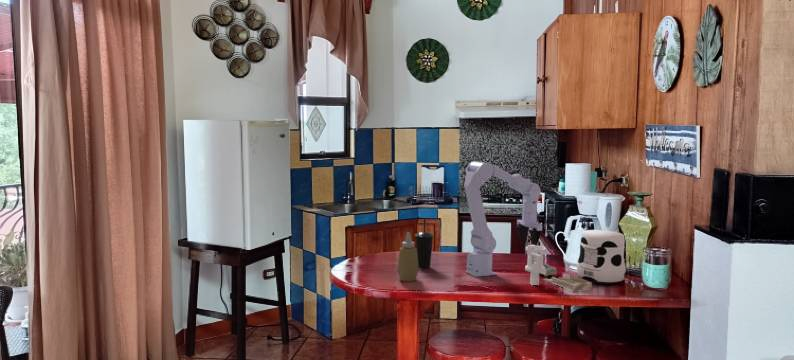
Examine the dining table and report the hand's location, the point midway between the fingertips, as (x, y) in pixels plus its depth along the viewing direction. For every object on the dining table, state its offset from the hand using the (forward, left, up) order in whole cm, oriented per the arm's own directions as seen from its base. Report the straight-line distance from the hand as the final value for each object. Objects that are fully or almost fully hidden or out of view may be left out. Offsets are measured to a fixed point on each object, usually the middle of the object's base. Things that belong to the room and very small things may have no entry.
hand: (528, 244), depth 227 cm
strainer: (-11, -20, -10) cm, 25 cm away
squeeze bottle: (-53, +1, -10) cm, 53 cm away
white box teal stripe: (0, -12, -10) cm, 15 cm away
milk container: (+15, -25, -10) cm, 31 cm away
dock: (0, -24, -10) cm, 26 cm away
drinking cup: (-40, +15, -10) cm, 44 cm away
